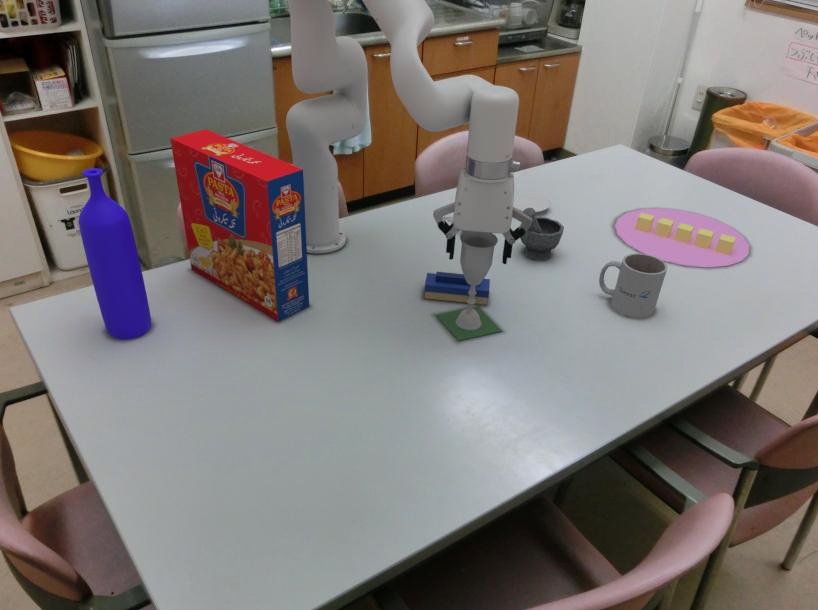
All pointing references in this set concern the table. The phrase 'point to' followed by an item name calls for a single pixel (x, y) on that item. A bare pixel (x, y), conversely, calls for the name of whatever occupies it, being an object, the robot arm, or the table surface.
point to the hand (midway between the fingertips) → (477, 258)
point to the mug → (636, 284)
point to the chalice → (474, 270)
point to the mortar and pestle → (541, 236)
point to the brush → (454, 288)
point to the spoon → (524, 204)
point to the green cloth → (463, 334)
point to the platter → (682, 237)
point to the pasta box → (244, 221)
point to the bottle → (113, 262)
